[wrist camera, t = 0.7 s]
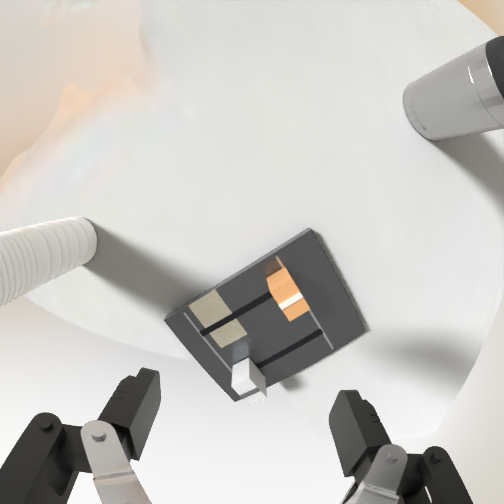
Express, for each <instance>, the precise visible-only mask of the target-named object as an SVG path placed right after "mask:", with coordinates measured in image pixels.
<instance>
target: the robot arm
mask: <svg viewBox="0 0 504 504" xmlns="http://www.w3.org/2000/svg"><path fill="white" fill-rule="evenodd" d="M403 103H404V108H405V112H406V115H407V117H408V119H409V121H410V122H411V124H412V125H413V127H414V128H415V129H416V130H417V132H419V133H420V134H421V135H422V136H424V137H425V138H427V139H429V140H432V141H439V140H443V139H448V138H453V137H459V136H464V135H470V134H475V133H481V132H486V131H492V130H499V129H504V36H499V37H496V38H494V39H492V40H490V41H488V42H487V43H484V44H482V45H480V46H478V47H476V48H474V49H473V50H471V51H469V52H467V53H465V54H463V55H461V56H459V57H457V58H455V59H454V60H452V61H450V62H448V63H446V64H444V65H443V66H441V67H439V68H437V69H435V70H434V71H432V72H430V73H428V74H426V75H424V76H423V77H421V78H419V79H418V80H416V81H414V82H413V83H411V84H409V85H408V86H407V88H406V89H405V91H404V95H403ZM160 401H161V390H160V375H159V371H156V370H151V369H147V368H141V369H140V371H139V373H138V375H137V376H136V377H134V376H128V377H126V378H125V379H123V380H122V381H121V382H120V383H119V385H118V387H117V388H116V390H115V392H114V393H113V395H112V397H111V398H110V400H109V401H108V403H107V405H106V406H105V408H104V409H103V411H102V413H101V414H100V416H99V418H98V419H97V420H95V421H90V422H88V423H86V424H85V425H84V426H82V427H81V426H72V425H66V424H62V423H61V421H60V419H59V418H58V417H57V416H56V415H54V414H52V413H40V414H37V415H36V416H35V417H34V418H33V419H32V420H31V422H30V423H29V425H28V426H27V428H26V429H25V431H24V432H23V434H22V435H21V437H20V438H19V440H18V441H17V443H16V444H15V446H14V448H13V449H12V451H11V452H10V454H9V456H8V457H7V459H6V460H5V462H4V464H3V465H2V467H1V469H0V504H67V501H68V499H69V496H70V494H71V491H72V489H73V486H74V483H75V481H76V479H77V476H78V474H79V471H80V472H86V473H93V475H94V479H93V480H94V484H95V486H96V489H97V492H98V494H99V496H100V499H101V501H102V504H152V503H151V502H150V500H149V498H148V496H147V495H146V493H145V491H144V489H143V487H142V486H141V484H140V482H139V480H138V478H137V476H136V475H135V473H134V471H133V470H132V468H131V466H130V464H129V463H130V460H131V459H134V460H137V461H139V459H140V456H141V453H142V451H143V448H144V446H145V443H146V440H147V438H148V435H149V432H150V430H151V427H152V425H153V422H154V419H155V417H156V414H157V412H158V409H159V406H160ZM329 425H330V429H331V432H332V435H333V439H334V442H335V446H336V449H337V452H338V456H339V459H340V463H341V466H342V470H343V473H344V477H350V476H354V478H355V481H354V482H353V483H352V485H351V487H350V488H349V490H348V492H347V493H346V495H345V497H344V499H343V500H342V502H341V504H473V502H472V500H471V498H470V496H469V494H468V492H467V489H466V488H465V485H464V483H463V481H462V479H461V477H460V476H459V473H458V472H457V470H456V468H455V466H454V464H453V462H452V460H451V458H450V456H449V455H448V453H447V451H445V450H444V449H443V448H441V447H438V446H432V447H429V448H428V449H426V451H425V452H424V453H423V454H407V453H406V451H405V450H404V449H403V448H402V447H400V446H398V445H394V444H392V443H391V441H390V439H389V437H388V435H387V433H386V431H385V429H384V427H383V425H382V423H381V422H380V419H379V417H378V416H377V413H376V411H375V409H374V407H373V406H372V405H371V404H370V403H369V402H368V401H367V400H362V398H361V396H360V394H359V392H358V391H357V390H341V391H340V392H339V393H338V396H337V398H336V400H335V403H334V405H333V407H332V409H331V412H330V415H329ZM426 486H427V489H428V491H429V494H430V496H431V499H432V503H431V502H430V500H429V497H428V494H427V492H426V489H425V487H426Z"/></svg>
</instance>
